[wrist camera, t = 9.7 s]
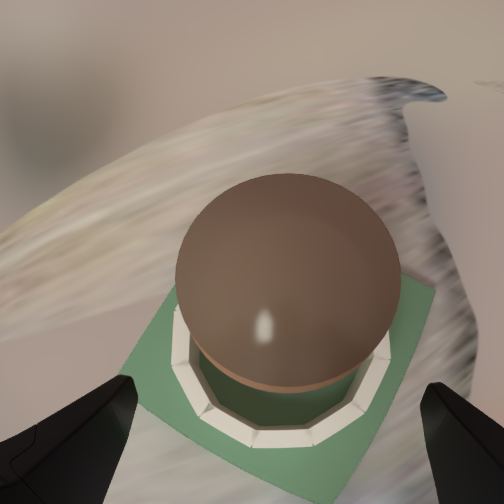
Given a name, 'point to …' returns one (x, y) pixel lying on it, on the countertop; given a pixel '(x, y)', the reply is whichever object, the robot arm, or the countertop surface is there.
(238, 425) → the white faceted ring
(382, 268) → the jar
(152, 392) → the green mat
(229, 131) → the countertop surface
